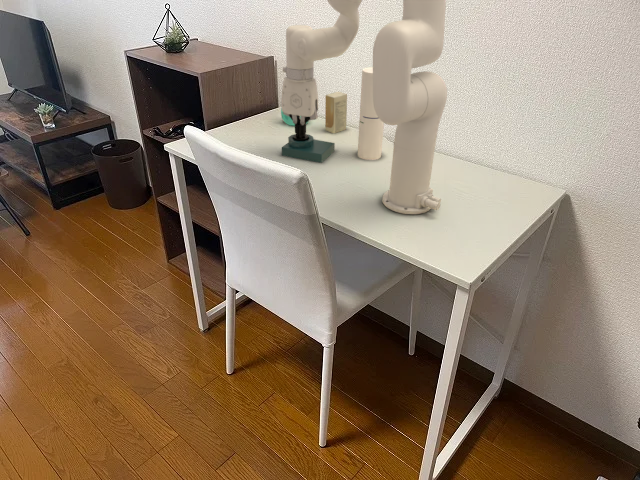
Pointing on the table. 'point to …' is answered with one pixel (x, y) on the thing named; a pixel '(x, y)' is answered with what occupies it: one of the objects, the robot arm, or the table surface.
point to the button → (301, 138)
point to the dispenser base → (308, 149)
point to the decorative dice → (287, 119)
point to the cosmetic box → (335, 112)
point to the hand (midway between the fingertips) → (300, 136)
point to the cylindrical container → (369, 121)
